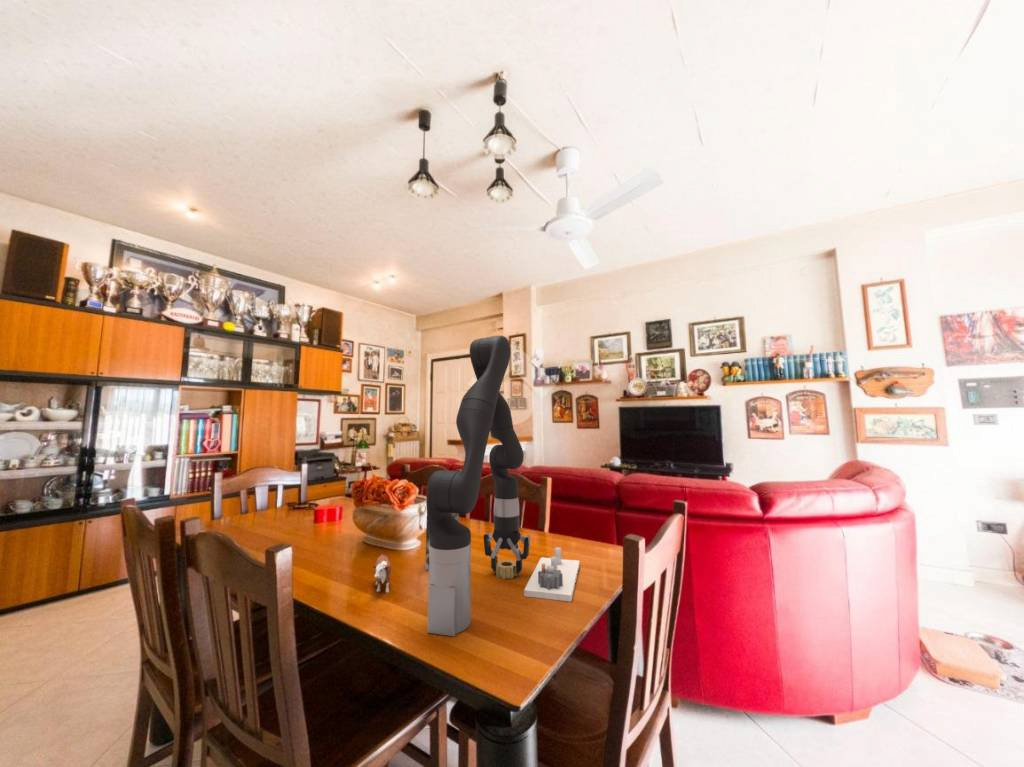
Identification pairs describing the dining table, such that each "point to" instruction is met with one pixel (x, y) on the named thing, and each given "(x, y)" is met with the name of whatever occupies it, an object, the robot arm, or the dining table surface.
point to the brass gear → (506, 569)
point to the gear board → (554, 593)
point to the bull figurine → (382, 572)
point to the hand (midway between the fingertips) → (506, 571)
